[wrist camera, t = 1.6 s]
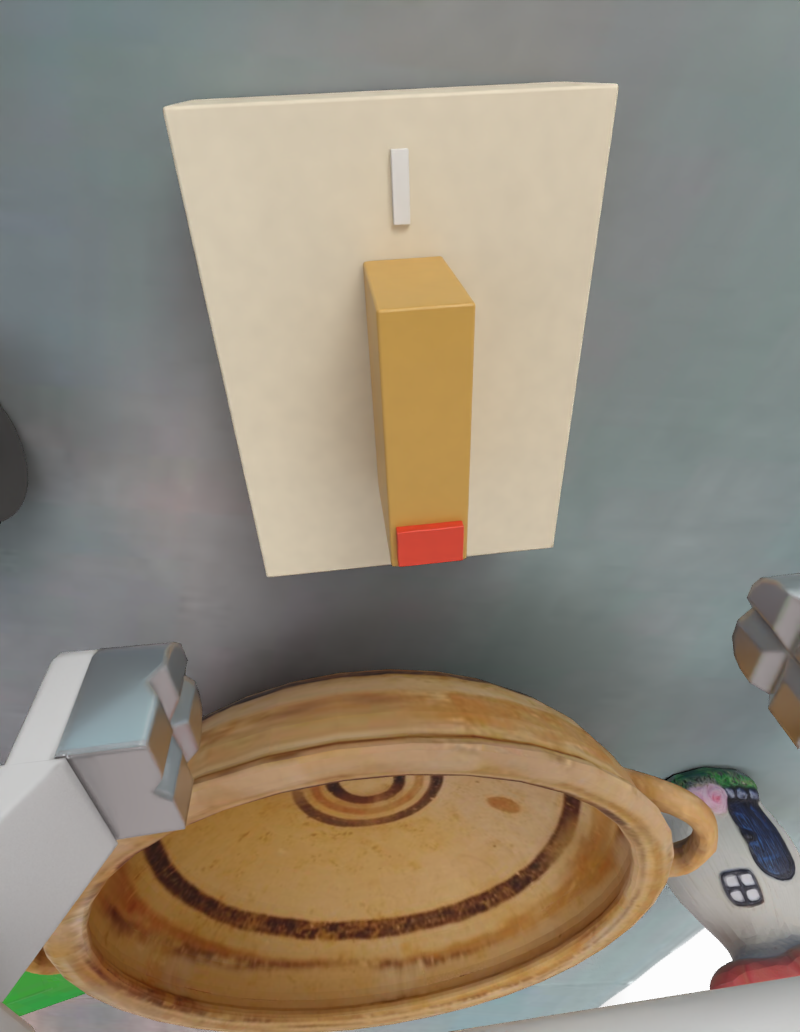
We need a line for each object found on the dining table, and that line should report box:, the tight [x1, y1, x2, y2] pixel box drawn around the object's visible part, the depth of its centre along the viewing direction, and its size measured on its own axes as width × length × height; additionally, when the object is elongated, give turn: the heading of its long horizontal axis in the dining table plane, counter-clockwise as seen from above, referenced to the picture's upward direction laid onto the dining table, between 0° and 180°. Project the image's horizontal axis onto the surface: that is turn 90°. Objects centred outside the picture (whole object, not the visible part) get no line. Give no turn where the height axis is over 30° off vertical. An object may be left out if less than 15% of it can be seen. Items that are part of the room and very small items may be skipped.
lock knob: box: [363, 256, 476, 567], centre depth 14 cm, size 6×2×4 cm, turn 2°
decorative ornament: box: [661, 767, 800, 990], centre depth 31 cm, size 9×7×15 cm
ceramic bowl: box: [26, 669, 718, 1032], centre depth 27 cm, size 30×24×8 cm
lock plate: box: [163, 82, 618, 577], centre depth 17 cm, size 12×9×4 cm
